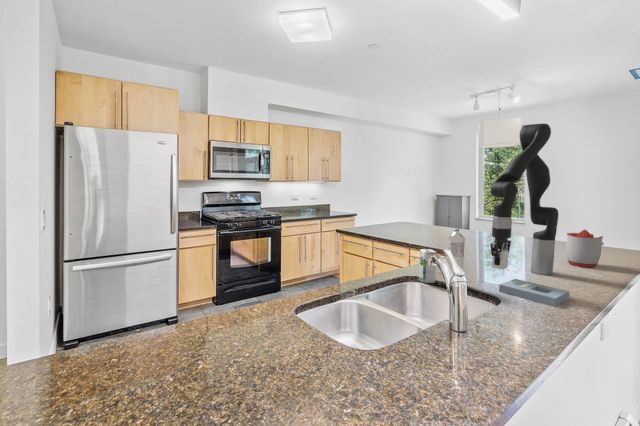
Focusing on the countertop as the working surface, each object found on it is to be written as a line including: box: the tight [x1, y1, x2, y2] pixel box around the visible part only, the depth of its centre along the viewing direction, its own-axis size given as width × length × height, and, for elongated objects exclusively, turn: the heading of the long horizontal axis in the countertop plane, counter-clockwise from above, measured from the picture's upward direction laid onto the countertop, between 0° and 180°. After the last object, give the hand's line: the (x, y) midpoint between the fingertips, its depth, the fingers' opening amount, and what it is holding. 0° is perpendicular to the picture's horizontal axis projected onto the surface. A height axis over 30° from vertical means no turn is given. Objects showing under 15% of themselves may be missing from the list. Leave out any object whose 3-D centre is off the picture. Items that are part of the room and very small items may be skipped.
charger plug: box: [491, 249, 509, 270], centre depth 148 cm, size 5×5×8 cm
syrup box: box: [418, 248, 437, 284], centre depth 150 cm, size 6×6×14 cm
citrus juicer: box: [565, 229, 604, 268], centre depth 180 cm, size 16×17×20 cm
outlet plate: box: [498, 278, 570, 307], centre depth 133 cm, size 14×20×3 cm
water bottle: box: [447, 228, 466, 271], centre depth 145 cm, size 7×7×25 cm
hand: (499, 263), depth 148 cm, fingers closed on charger plug, 4 cm apart
